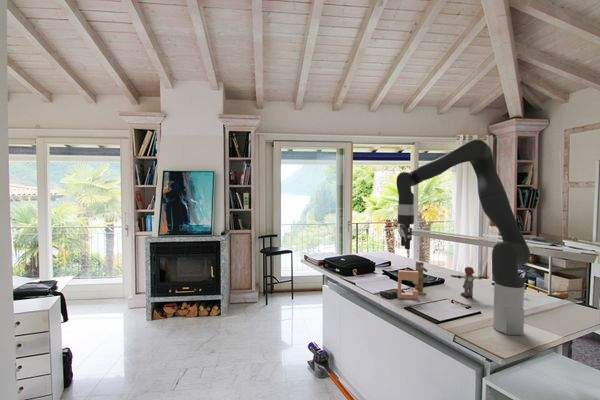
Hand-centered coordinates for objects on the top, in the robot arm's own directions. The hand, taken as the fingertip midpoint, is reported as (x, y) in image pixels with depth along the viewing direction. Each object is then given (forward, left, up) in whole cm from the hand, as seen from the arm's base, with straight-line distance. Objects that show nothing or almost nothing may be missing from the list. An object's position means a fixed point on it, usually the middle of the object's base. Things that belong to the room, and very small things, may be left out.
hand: (405, 247), depth 149 cm
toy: (+6, -31, -25) cm, 40 cm away
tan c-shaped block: (0, -2, -24) cm, 24 cm away
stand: (+5, -9, -24) cm, 26 cm away
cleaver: (+16, -55, -24) cm, 62 cm away
